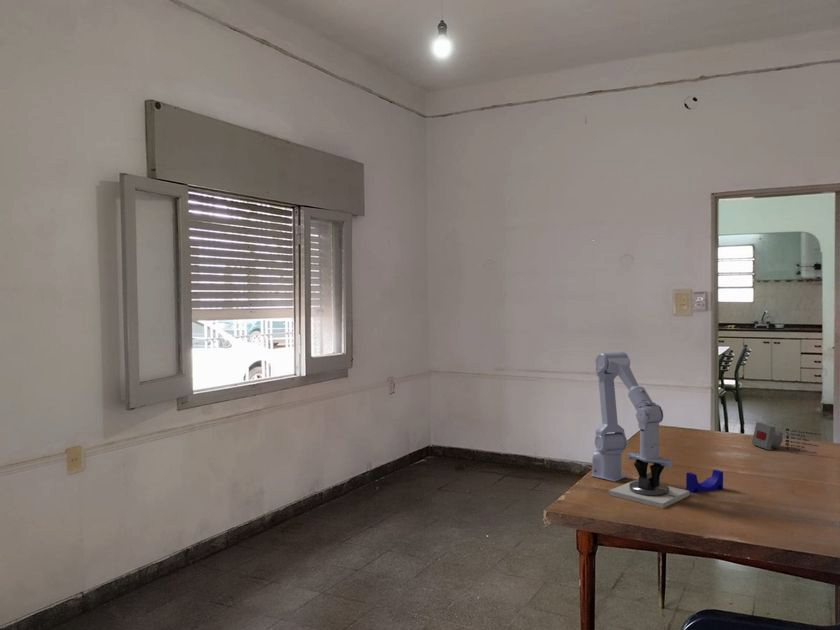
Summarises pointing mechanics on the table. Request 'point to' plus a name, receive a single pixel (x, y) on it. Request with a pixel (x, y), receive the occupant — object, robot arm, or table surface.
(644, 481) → the dial
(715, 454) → the table surface
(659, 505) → the dial panel
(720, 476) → the blue cradle block
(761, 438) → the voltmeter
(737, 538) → the table surface
